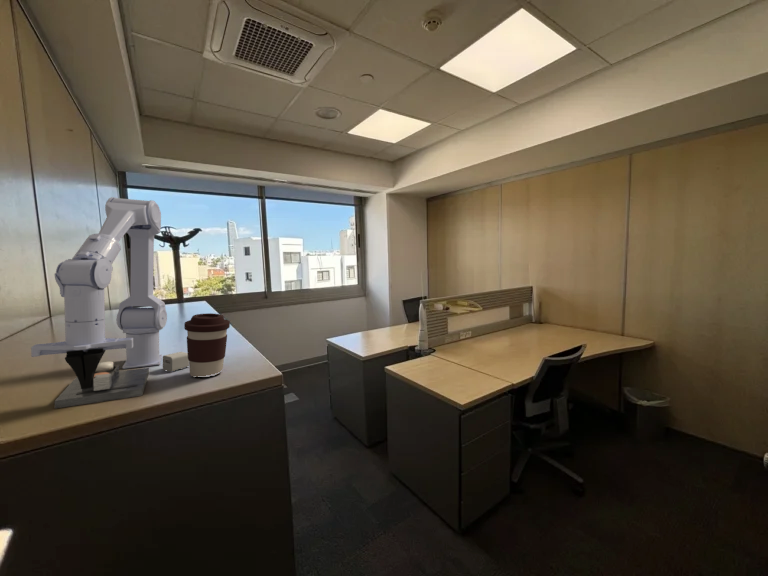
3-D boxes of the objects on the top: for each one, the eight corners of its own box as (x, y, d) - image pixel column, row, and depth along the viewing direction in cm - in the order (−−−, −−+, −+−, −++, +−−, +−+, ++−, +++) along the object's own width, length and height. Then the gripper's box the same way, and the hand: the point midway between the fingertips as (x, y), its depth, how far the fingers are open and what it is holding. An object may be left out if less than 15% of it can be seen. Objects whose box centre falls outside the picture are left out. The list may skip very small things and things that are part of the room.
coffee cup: (198, 384, 72) (200, 321, 71) (174, 374, 77) (175, 315, 76) (236, 372, 81) (238, 316, 80) (212, 364, 86) (214, 310, 84)
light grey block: (96, 387, 64) (95, 375, 64) (111, 385, 65) (111, 373, 65) (93, 390, 62) (93, 378, 62) (109, 388, 63) (109, 376, 63)
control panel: (77, 382, 71) (77, 369, 70) (148, 373, 78) (148, 362, 78) (54, 408, 58) (54, 393, 58) (142, 395, 65) (142, 381, 65)
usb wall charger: (162, 370, 81) (162, 355, 81) (188, 363, 87) (188, 349, 87) (172, 372, 79) (172, 357, 79) (198, 365, 86) (198, 351, 85)
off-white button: (96, 369, 72) (96, 362, 72) (114, 367, 73) (114, 360, 73) (93, 373, 69) (92, 366, 69) (112, 371, 71) (111, 364, 71)
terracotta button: (91, 380, 67) (91, 373, 67) (110, 378, 69) (110, 371, 69) (87, 385, 65) (87, 378, 65) (107, 382, 67) (107, 375, 66)
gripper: (22, 326, 54) (25, 401, 55) (129, 321, 62) (130, 387, 63) (38, 319, 60) (41, 388, 61) (134, 315, 68) (135, 376, 69)
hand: (87, 386), depth 62 cm, fingers closed
